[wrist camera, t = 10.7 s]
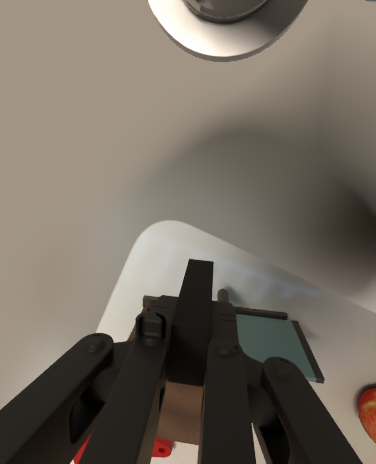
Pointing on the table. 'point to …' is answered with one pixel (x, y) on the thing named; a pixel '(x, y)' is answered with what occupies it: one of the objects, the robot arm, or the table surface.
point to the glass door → (275, 341)
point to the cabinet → (188, 392)
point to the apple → (368, 412)
